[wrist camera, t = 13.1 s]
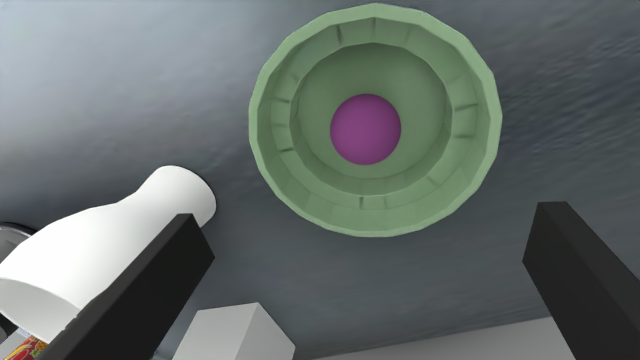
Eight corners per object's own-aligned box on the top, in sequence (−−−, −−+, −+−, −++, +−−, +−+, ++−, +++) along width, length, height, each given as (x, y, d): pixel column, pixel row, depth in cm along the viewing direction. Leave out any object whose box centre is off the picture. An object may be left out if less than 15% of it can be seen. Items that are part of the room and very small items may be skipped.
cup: (213, 153, 28) (73, 279, 15) (238, 233, 33) (151, 374, 21) (122, 152, 30) (-65, 261, 17) (161, 227, 35) (40, 351, 23)
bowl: (298, 195, 28) (280, 237, 23) (254, 26, 21) (214, 35, 16) (463, 189, 25) (483, 237, 20) (485, -21, 17) (527, -29, 12)
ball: (341, 148, 24) (329, 179, 20) (332, 89, 22) (316, 111, 17) (401, 144, 23) (402, 177, 19) (399, 81, 20) (400, 102, 16)
